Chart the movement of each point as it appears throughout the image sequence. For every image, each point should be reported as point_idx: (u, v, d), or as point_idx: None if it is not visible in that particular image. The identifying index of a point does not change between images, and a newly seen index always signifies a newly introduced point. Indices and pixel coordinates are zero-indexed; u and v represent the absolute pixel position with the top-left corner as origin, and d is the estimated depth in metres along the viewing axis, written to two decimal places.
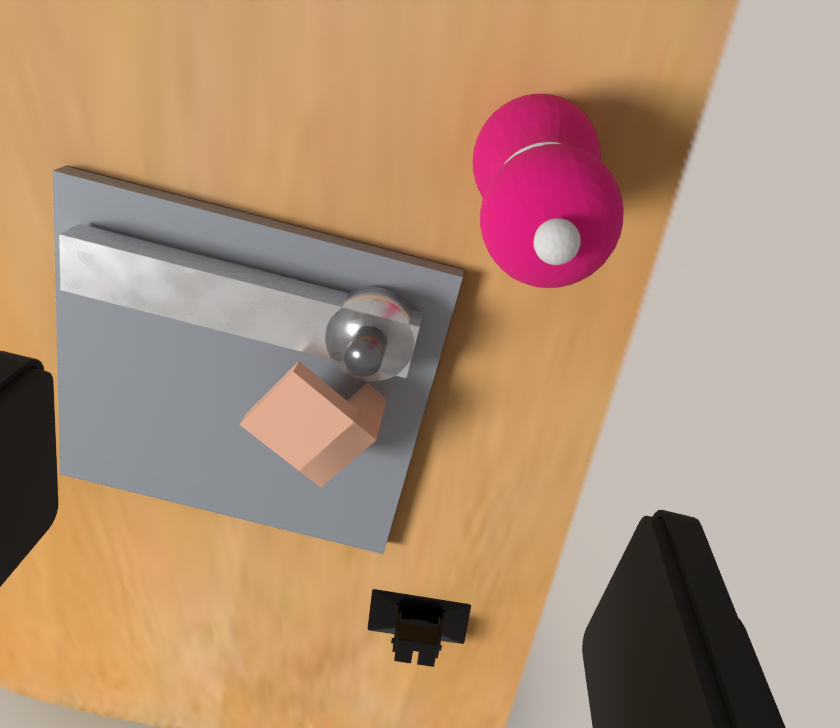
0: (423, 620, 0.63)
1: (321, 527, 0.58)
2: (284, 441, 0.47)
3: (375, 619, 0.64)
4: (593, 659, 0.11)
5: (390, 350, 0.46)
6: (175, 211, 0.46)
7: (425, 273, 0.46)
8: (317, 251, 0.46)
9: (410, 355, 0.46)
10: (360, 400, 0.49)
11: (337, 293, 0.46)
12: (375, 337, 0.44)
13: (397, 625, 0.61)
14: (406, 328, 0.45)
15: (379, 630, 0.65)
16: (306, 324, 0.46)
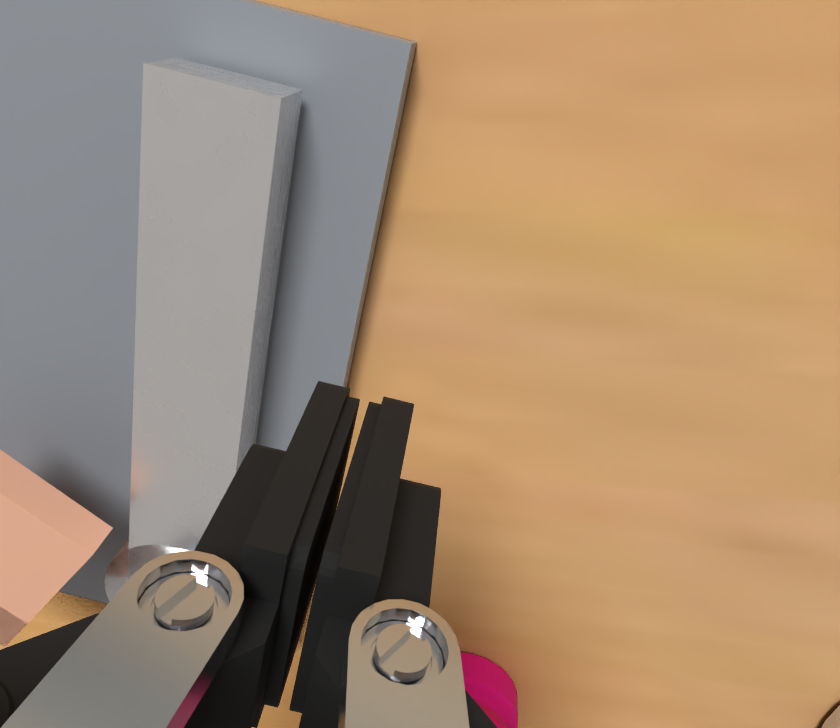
0: None
1: None
2: None
3: None
4: None
5: None
6: (346, 285, 0.25)
7: None
8: None
9: None
10: None
11: None
12: None
13: None
14: None
15: None
16: (181, 523, 0.27)
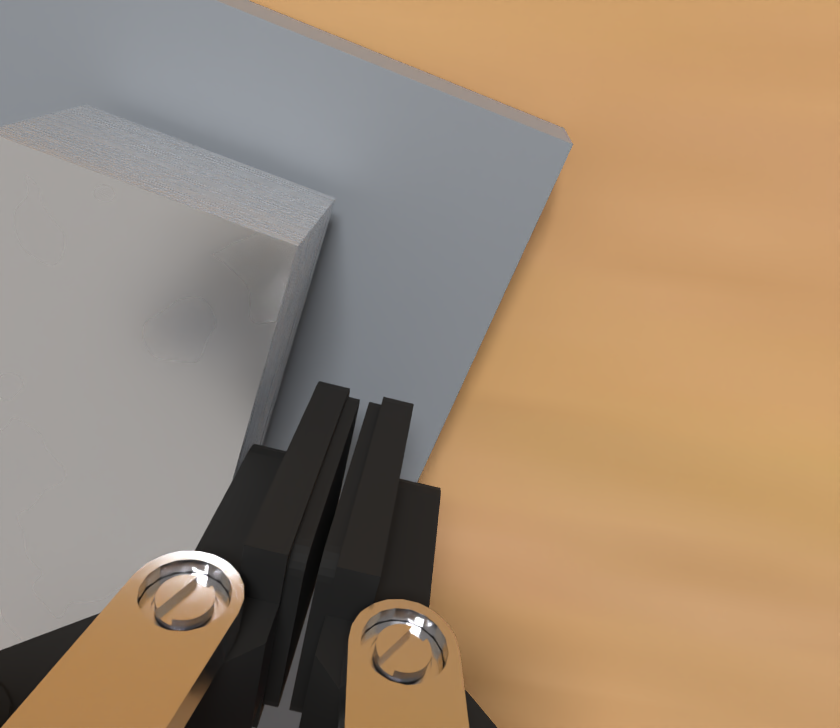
0: None
1: None
2: None
3: None
4: None
5: None
6: None
7: None
8: None
9: None
10: None
11: None
12: None
13: None
14: None
15: None
16: None
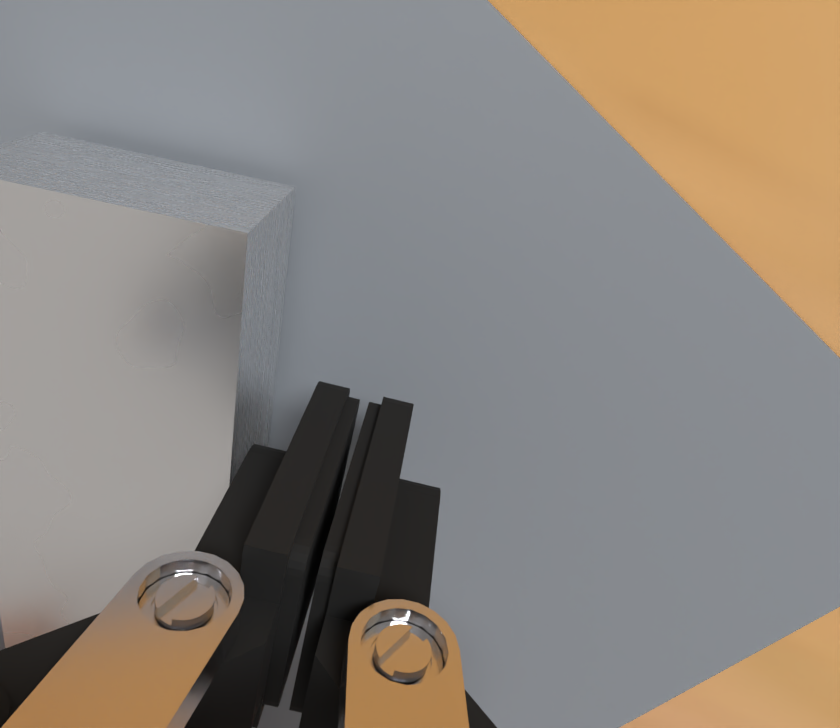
0: None
1: None
2: None
3: None
4: None
5: None
6: (634, 697, 0.16)
7: None
8: None
9: None
10: None
11: None
12: None
13: None
14: None
15: None
16: None
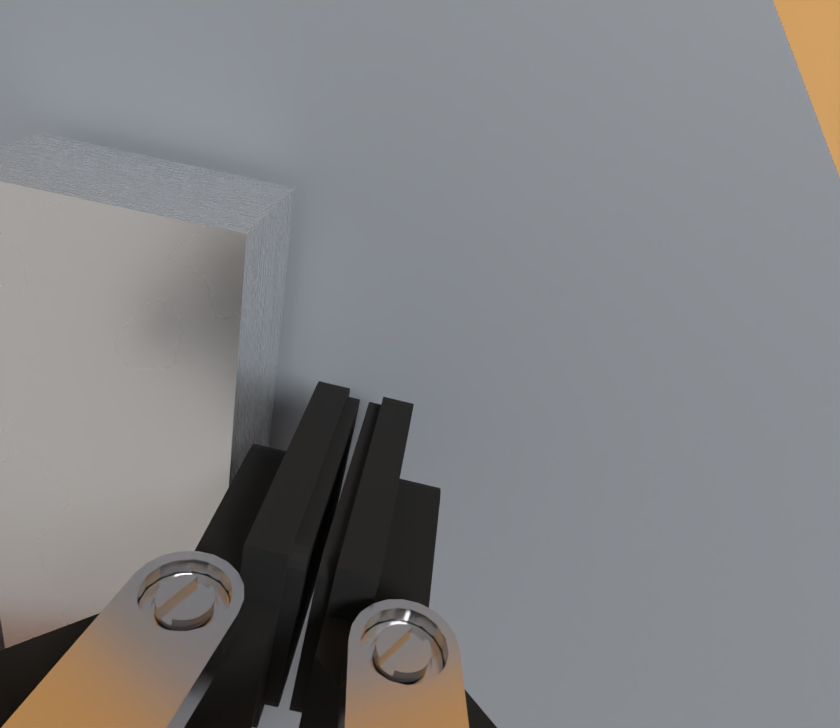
0: None
1: None
2: None
3: None
4: None
5: None
6: None
7: None
8: None
9: None
10: None
11: None
12: None
13: None
14: None
15: None
16: None
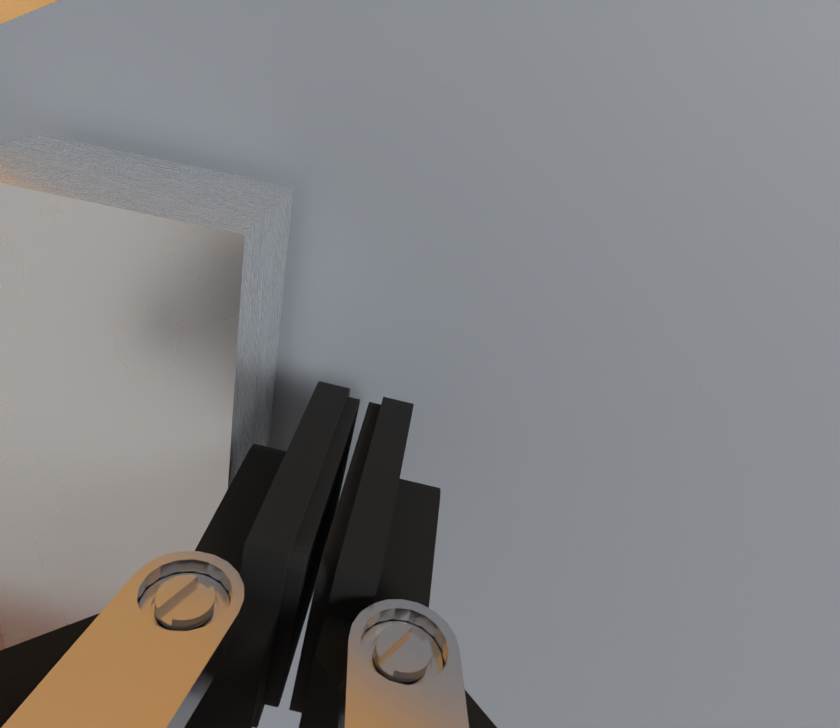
0: None
1: None
2: None
3: None
4: None
5: None
6: None
7: None
8: None
9: None
10: None
11: None
12: None
13: None
14: None
15: None
16: None
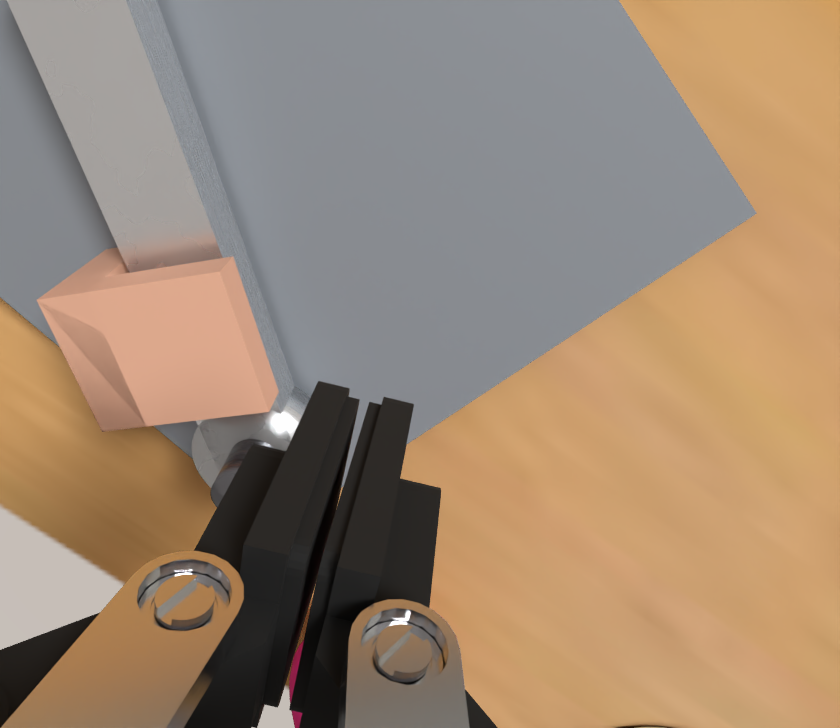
0: None
1: None
2: (154, 313, 0.25)
3: None
4: None
5: None
6: (571, 320, 0.30)
7: None
8: None
9: None
10: None
11: (286, 379, 0.31)
12: None
13: None
14: None
15: None
16: None
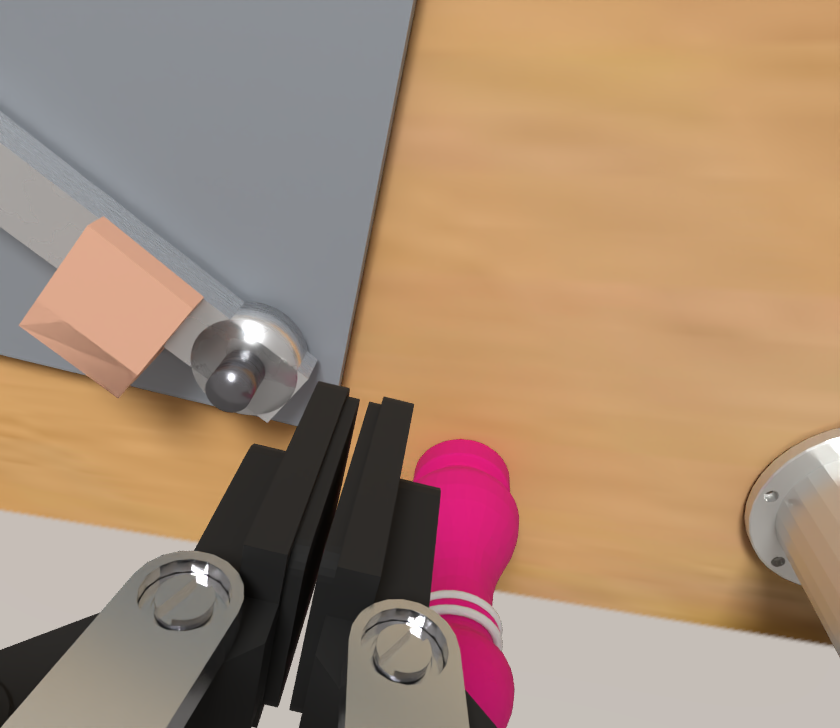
0: None
1: None
2: (79, 285, 0.33)
3: None
4: None
5: (263, 388, 0.38)
6: (380, 106, 0.33)
7: None
8: (342, 287, 0.38)
9: (283, 402, 0.39)
10: (159, 348, 0.38)
11: (231, 297, 0.38)
12: (253, 371, 0.36)
13: None
14: (292, 374, 0.38)
15: None
16: None
